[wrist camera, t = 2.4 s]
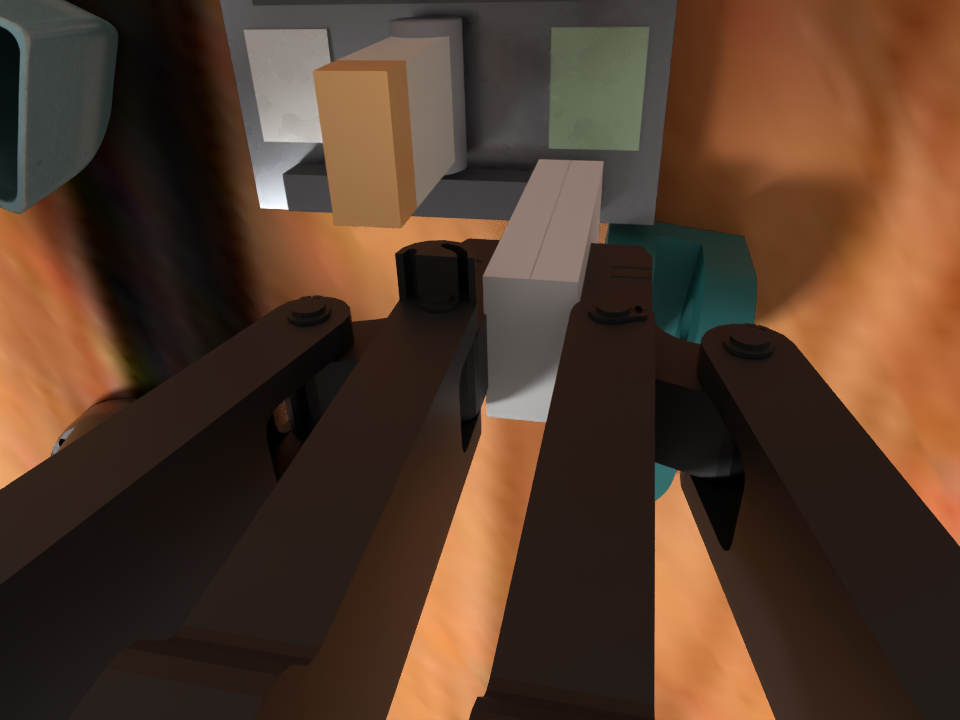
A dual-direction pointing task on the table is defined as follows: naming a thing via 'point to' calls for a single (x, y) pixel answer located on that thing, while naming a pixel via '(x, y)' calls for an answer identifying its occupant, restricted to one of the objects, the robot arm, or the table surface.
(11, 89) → the flower pot
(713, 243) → the bracket
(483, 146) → the breaker panel
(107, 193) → the table surface
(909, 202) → the table surface
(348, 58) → the breaker lever
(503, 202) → the dark grey rectangular piece
